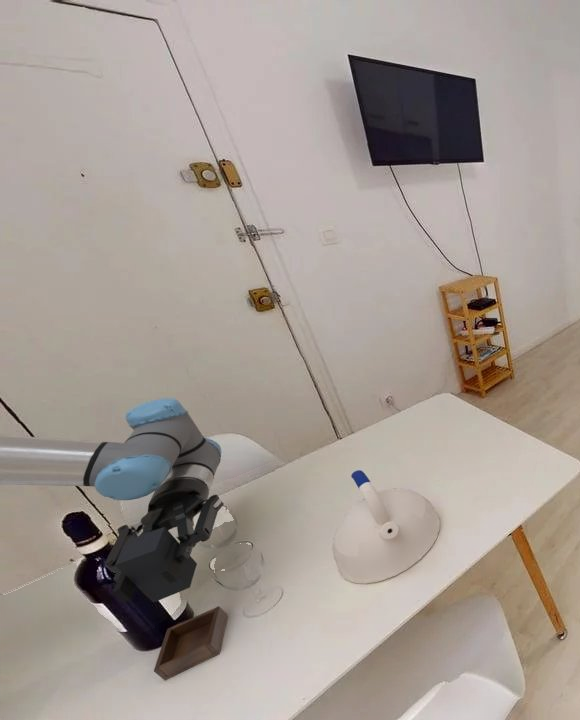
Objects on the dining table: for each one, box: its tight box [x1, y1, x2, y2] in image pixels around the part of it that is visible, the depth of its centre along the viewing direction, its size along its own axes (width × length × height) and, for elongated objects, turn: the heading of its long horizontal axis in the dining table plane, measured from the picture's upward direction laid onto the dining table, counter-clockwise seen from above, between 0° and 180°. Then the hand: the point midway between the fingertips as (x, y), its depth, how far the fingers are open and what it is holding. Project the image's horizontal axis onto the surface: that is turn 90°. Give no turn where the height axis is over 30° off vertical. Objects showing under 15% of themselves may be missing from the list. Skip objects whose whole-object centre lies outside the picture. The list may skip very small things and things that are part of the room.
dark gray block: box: [115, 527, 198, 603], centre depth 68 cm, size 4×6×10 cm
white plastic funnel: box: [331, 469, 441, 585], centre depth 86 cm, size 20×21×18 cm
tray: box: [153, 605, 229, 681], centre depth 72 cm, size 7×8×3 cm
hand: (145, 585), depth 64 cm, fingers closed on dark gray block, 4 cm apart
